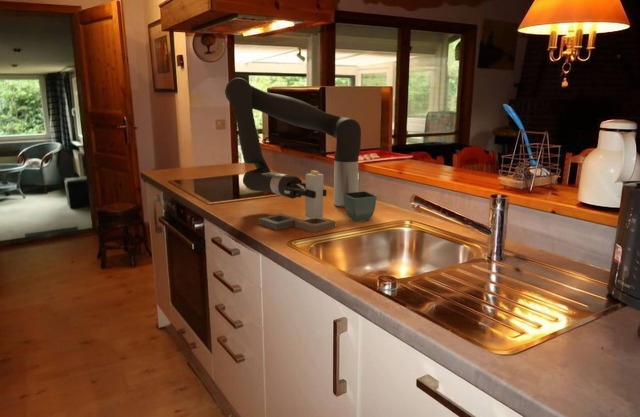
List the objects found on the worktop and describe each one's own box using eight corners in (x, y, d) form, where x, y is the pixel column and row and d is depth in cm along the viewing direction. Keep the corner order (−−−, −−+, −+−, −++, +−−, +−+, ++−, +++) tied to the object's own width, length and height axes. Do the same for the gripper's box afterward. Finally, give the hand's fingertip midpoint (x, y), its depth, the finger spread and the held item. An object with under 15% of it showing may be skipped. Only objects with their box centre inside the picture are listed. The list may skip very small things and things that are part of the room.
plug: (314, 214, 160) (315, 169, 157) (322, 216, 158) (323, 171, 154) (305, 216, 158) (305, 170, 154) (313, 218, 155) (314, 172, 151)
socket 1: (281, 219, 167) (281, 213, 167) (299, 224, 161) (299, 218, 160) (258, 224, 161) (258, 218, 161) (276, 230, 154) (276, 224, 154)
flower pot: (353, 224, 162) (353, 198, 159) (342, 218, 169) (342, 193, 167) (376, 222, 165) (377, 196, 163) (364, 215, 173) (365, 191, 170)
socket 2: (315, 221, 165) (315, 215, 165) (335, 227, 158) (335, 221, 158) (294, 226, 159) (294, 220, 158) (314, 232, 152) (314, 226, 152)
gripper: (269, 177, 160) (303, 185, 148) (301, 172, 170) (336, 179, 158) (269, 199, 162) (303, 208, 150) (301, 193, 172) (336, 202, 159)
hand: (320, 193), depth 154 cm, fingers closed on plug, 4 cm apart
